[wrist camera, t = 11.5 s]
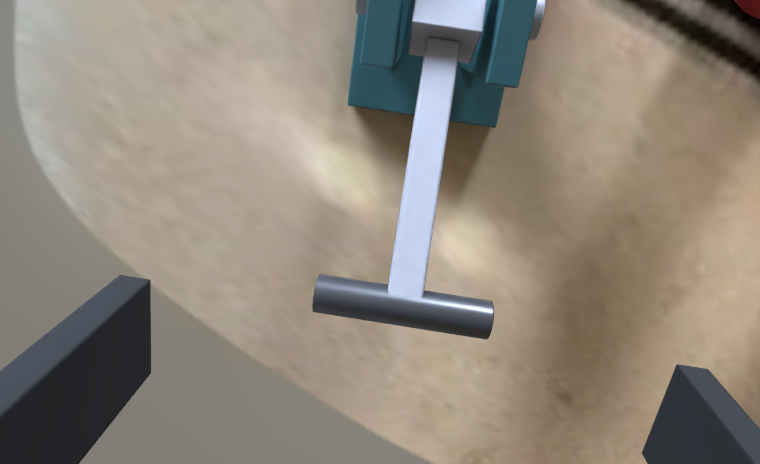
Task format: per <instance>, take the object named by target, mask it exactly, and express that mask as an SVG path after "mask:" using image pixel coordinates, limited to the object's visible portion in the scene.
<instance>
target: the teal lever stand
mask: <svg viewBox="0 0 760 464" xmlns="http://www.w3.org/2000/svg"><path fill="white" fill-rule="evenodd" d="M414 3H415V0H356V13H358V21H357V29H356V37H355V46H354V54H353V63H352V71H351V79H350V88H349V96H348V105H350V106H356V107H363V108H369V109H376V110H382V111H389V112H396V113H402V114H409V115H415V108H416V102H417V95H418V89H419V82H420V76H421V70H422V63H423V57H422V56H416V55H409V54H408V47H409V39H410V31H411V23H412V16H413V10H414ZM544 11H545V0H487V5H486V12H485V19H484V26H483V32H482V35H481V37H480V40H479V42H478V44H477V47H476V49H475V52H474V54H473V57H472V59H471V61H470V63H462V62H458V65H457V72H456V79H455V85H454V92H453V99H452V106H451V112H450V119H449V121H454V122H461V123H467V124H474V125H480V126H487V127H493V128H495V127H496V124H497V120H498V115H499V111H500V106H501V101H502V97H503V92H504V87H512V88H517V87H518V85H519V81H520V76H521V72H522V67H523V63H524V58H525V54H526V49H527V45H528V40H534V39H535V38H536V37H537V35H538V33H539V30H540V27H541V24H542V20H543V16H544Z"/></svg>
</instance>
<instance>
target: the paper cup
mask: <svg viewBox="0 0 760 464" xmlns="http://www.w3.org/2000/svg"><path fill="white" fill-rule="evenodd" d="M734 1H735V2H736V4H737V5H738V6H739V7H740V8H741V9H742V10H743V11H744V12H746V13H747V14H749V15H751V16H753V17H755V18H758V19H760V0H734Z"/></svg>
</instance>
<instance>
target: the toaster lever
mask: <svg viewBox="0 0 760 464" xmlns="http://www.w3.org/2000/svg"><path fill="white" fill-rule="evenodd" d="M486 5H487V0H415V3H414V10H413V16H412V23H411V31H410V39H409V47H408V54H409V55H416V56H422V57H423V63H422V70H421V76H420V82H419V89H418V95H417V102H416V108H415V115H414V121H413V128H412V134H411V140H410V147H409V153H408V160H407V166H406V173H405V179H404V186H403V192H402V198H401V205H400V211H399V218H398V224H397V231H396V237H395V243H394V250H393V256H392V263H391V269H390V276H389V282H388V285H387V284H380V283H374V282H368V281H361V280H355V279H349V278H342V277H336V276H330V275H323V274H320V275H319V276H318V278H317V282H316V286H315V291H314V297H313V311H314V312H317V313H323V314H330V315H336V316H342V317H349V318H355V319H361V320H367V321H374V322H380V323H386V324H393V325H399V326H405V327H411V328H418V329H424V330H430V331H437V332H443V333H449V334H455V335H462V336H468V337H474V338H481V339H488V338H489V336H490V334H491V330H492V326H493V320H494V306H493V302H492V301H488V300H482V299H475V298H469V297H463V296H456V295H450V294H444V293H437V292H431V291H425V290H424V287H425V280H426V273H427V266H428V260H429V253H430V246H431V240H432V233H433V226H434V220H435V213H436V206H437V199H438V193H439V186H440V179H441V173H442V166H443V159H444V152H445V146H446V139H447V132H448V126H449V119H450V112H451V106H452V99H453V92H454V85H455V79H456V72H457V65H458V62H462V63H470V61H471V59H472V57H473V54H474V52H475V49H476V47H477V44H478V42H479V40H480V37H481V35H482V32H483V26H484V19H485V12H486Z"/></svg>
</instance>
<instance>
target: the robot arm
mask: <svg viewBox="0 0 760 464" xmlns="http://www.w3.org/2000/svg"><path fill="white" fill-rule="evenodd" d="M150 373H151V313H150V280H148V279H141V278H135V277H128V276H123V275H120V276H118V277H117V278H116V279H114V280H113V281H112V282H111V283H110V284H108V285H107V286H106V287H104V288H103V289H102V290H101V291H99V292H98V293H97V294H96V295H94V296H93V297H92V298H91V299H89V300H88V301H87V302H86V303H85V304H83V305H82V306H81V307H79V308H78V309H77V310H76V311H75V312H73V313H72V314H71V315H69V316H68V317H67V318H66V319H64V320H63V321H62V322H61V323H59V324H58V325H57V326H56V327H54V328H53V329H52V330H51V331H49V333H47V334H46V335H44V336H43V337H42V338H41V339H40V340H38V341H37V342H36V343H34V345H32V346H31V347H29V348H28V349H27V350H26V351H24V352H23V353H22V354H21V355H19V356H18V357H17V358H16V359H14V360H13V361H12V362H11V363H10V364H8V365H7V366H6V367H4V368H3V369H2V370H1V371H0V464H79V463H80V461H81V460H82V459H83V458H84V456H85V455H86V454H87V453H88V451H89V450H90V449H91V448H92V446H93V445H94V444H95V443H96V441H97V440H98V439H99V437H100V436H101V435H102V434H103V432H104V431H105V430H106V429H107V427H108V426H109V425H110V424H111V422H112V421H113V420H114V419H115V417H116V416H117V415H118V414H119V412H120V411H121V410H122V409H123V407H124V406H125V405H126V403H127V402H128V401H129V400H130V399H131V397H132V396H133V395H134V394H135V392H136V391H137V390H138V388H139V387H140V386H141V385H142V383H143V382H144V381H145V380H146V378H147V377H148V376H149V375H150ZM642 454H643V456H644V458H645V459H646V461H647V463H648V464H760V429H759V427H758V426H757V425H756V424H755V423H754V422H753V421H752V419H751V418H750V417H749V416H748V415H747V414H746V412H745V411H744V410H743V409H742V408H741V407H740V406H739V404H738V403H737V402H736V401H735V400H734V399H733V398H732V396H731V395H730V394H729V393H728V392H727V391H726V389H725V388H724V387H723V386H722V385H721V384H720V383H719V381H718V380H717V379H716V378H715V377H714V376H713V374H712V373H711V372H710V371H709V370H708V369H703V368H697V367H691V366H684V365H678V364H677V365H676V368H675V370H674V373H673V375H672V378H671V380H670V383H669V385H668V388H667V390H666V393H665V396H664V398H663V401H662V403H661V406H660V408H659V411H658V413H657V416H656V418H655V421H654V423H653V426H652V429H651V431H650V434H649V436H648V439H647V441H646V444H645V446H644V449H643V451H642Z"/></svg>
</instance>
